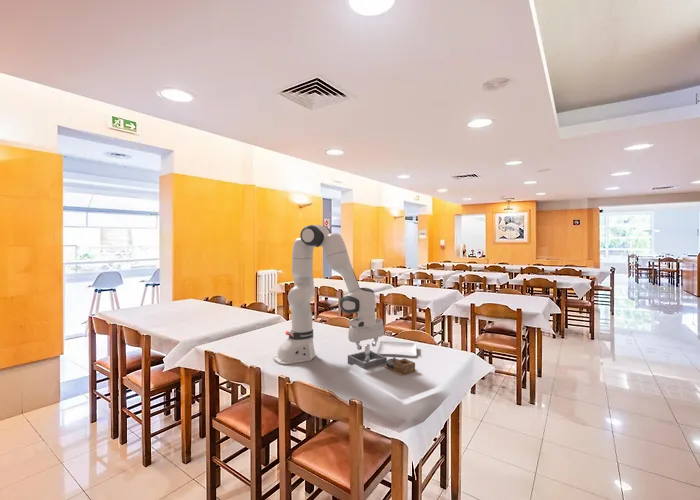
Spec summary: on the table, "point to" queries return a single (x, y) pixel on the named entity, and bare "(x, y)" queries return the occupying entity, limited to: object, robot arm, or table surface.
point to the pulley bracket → (400, 366)
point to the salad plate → (396, 348)
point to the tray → (360, 359)
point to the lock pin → (367, 352)
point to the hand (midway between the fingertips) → (366, 347)
